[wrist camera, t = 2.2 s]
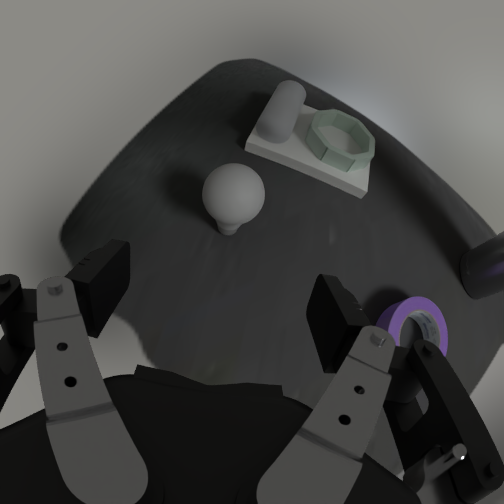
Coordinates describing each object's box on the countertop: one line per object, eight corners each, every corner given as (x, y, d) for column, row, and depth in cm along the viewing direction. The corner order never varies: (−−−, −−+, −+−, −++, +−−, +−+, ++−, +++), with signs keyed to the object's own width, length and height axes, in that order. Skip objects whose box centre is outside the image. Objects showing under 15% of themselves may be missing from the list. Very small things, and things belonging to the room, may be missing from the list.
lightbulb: (203, 253, 32) (203, 206, 22) (201, 208, 35) (201, 151, 24) (254, 250, 34) (275, 204, 23) (248, 206, 36) (265, 150, 25)
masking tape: (360, 318, 33) (376, 313, 29) (418, 291, 36) (434, 285, 32) (383, 398, 29) (400, 400, 26) (437, 361, 32) (455, 359, 29)
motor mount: (367, 142, 45) (384, 117, 38) (360, 198, 39) (384, 173, 33) (271, 101, 44) (279, 71, 38) (244, 150, 39) (251, 116, 33)
